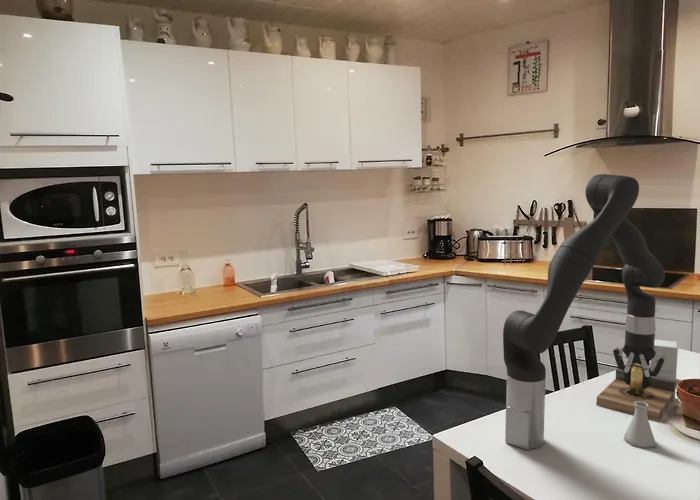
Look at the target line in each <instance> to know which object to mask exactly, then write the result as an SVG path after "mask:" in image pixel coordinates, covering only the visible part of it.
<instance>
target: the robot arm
mask: <svg viewBox="0 0 700 500" xmlns="http://www.w3.org/2000/svg"><path fill="white" fill-rule="evenodd" d="M639 192H640V184H639V181H638V180H637V179H636V178H634V177H633V176H628V175H621V174H619V175H617V174H607V173H603V174H602V173H600V174H595V175H593V176H592V177H591V178H590V179H589V180H588V181H587V184H586V188H585V198H586V201H587V203H588V205H589V207H590V208H591V210H592V211H593V212H594V214H595V215H596V217H594V218H593V220H591V221H590V222H589V223H588V224H586V225H585V226H582V227H581V228H580V229H578V230H576V231H575V232H573V233H572V234H571V235H569V236H568V237H567V238H565V239H564V240H563V241H562V242H561V244H560V245H559V246H558V248H557V250H556V251H555V254H553V256H552V258H551V260H550V262H549V265H548V269H547V288H546V289H547V290H546V294H545V297H544V300H543V301H542V302H541V305H540V307H539V308H538V310H537V311H536V312H535V314H534V313H532V312H530V311H529V312H528V311H525V310H514V311H513V312H511V313H509V315H508V316H506V317H507V318H506V320H504V324H503V330H502V331H503V332H502V342H503V343H502V347H503V362H504V365H505V367H506V396H505V397H506V399H505V401H506V404H505V405H506V407H505V432H504V433H505V440H504V441H505V443H506V444H510V445H512V446H515V447H517V448H521V449H523V450H526V451H530V450H531V449H537V448H540V447H542V446H543V445H544V443H545V441H544V440H545V438H544V437H545V412H546V411H545V410H546V409H545V405H546V404H545V403H546V375H547V373H546V372H547V370H546V369H547V368H546V366H545V364H544V363H543V362H542V361H541V360H540V358H539V357H538V355H541V354H543V353H544V352H546V351H547V350H548V349H549V348H550V347H551V345H552V343H554V341H555V339H556V337H557V335H558V332H559V330H560V328H561V325H562V323H563V322H564V319H565V316H566V314H567V313H568V310H569V308H570V307H571V305H572V303H573V301H574V300H575V298H576V296H577V294H578V292H579V291H580V288H581V287H582V286H583V284H584V282H585V281H586V279H587V277H588V275H589V274H590V272H591V271H592V270H593V267H594V266H595V264H596V262H597V261H598V259H599V257H600V255H601V254H602V251H603V250H604V248H605V247H606V246H607V244H608V242H610V241H609V240H610V239H612V241H613V243H614V244H615V246H616V249H617V251H618V254H619V256H620V258H621V260H622V262H623V263H624V266H623V268H622V270H621V271H622V272H621V278H622V282H623V285H624V288H625V293H626V298H627V307H626V310H627V311H626V318H625V327H624V328H625V329H624V330H625V332H624V345H623V347H615V348H614V349H613V350H612V354H613V356H614V359H615V363H616V366H617V368H619V369H622V370H623V371H624V372H625V373H624V381H625V382H626V384H627V385H629V382H630V367H631V365H632V364H633V363H638V364H640V365H642V367H643V369H644V373H645V376H644V389H647V388H648V387H649V386H650V385H651V376H654V377H656V376H657V374H659V372H660V370H661V368H662V366H663V364H664V362H665V360H666V358H665V357H664V356H662V357H661V356H659V355H657V354H656V352H655V350H654V341H655V337H656V297H655V296H653V295H652V294H649V293H646V292H645V291H642V288H641V287H644V288H651V289H653V288H655V289H656V288H658V287H660V286H662V284H663V283H664V281H665V278H666V273H665V270H664V267H663V265H662V263H661V262H660V261H659V260H658V259H657V258H656V257H655V255H653V253H652V252H651V251H649V247H648V245H647V242H646V239H645V238H644V235H643V234H642V232H641V230H639V229H638V228H637V227H636V226H635V224H633V223H632V222H631V221H630V220H629V219H628V218H627V216H628V214H630V212H631V210H632V208H633V207H634V205H635V203H636V202H637V199H638V197H639ZM623 353H624V355H625V357H626V358H627V361H626V363H625V361H624V358H623ZM653 358H655V362H656V363H657V365H656V367H655V369H654V371H651V368H650V360H652V359H653Z"/></svg>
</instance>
